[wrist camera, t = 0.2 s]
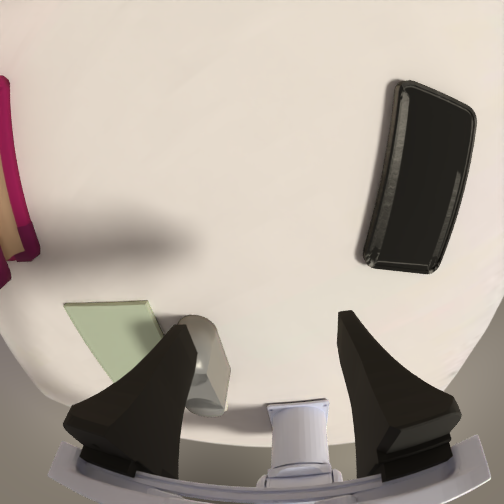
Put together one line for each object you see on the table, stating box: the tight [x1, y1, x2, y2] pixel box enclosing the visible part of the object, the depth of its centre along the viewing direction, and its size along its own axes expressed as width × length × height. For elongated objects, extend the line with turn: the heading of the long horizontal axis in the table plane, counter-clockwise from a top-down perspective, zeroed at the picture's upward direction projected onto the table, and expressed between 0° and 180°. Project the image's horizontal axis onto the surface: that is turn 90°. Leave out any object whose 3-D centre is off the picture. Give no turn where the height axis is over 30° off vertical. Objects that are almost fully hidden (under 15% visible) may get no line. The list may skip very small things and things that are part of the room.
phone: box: [363, 80, 477, 274], centre depth 18 cm, size 8×1×15 cm
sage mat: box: [63, 301, 164, 383], centre depth 29 cm, size 16×12×1 cm
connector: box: [178, 315, 231, 417], centre depth 26 cm, size 12×4×6 cm, turn 9°
